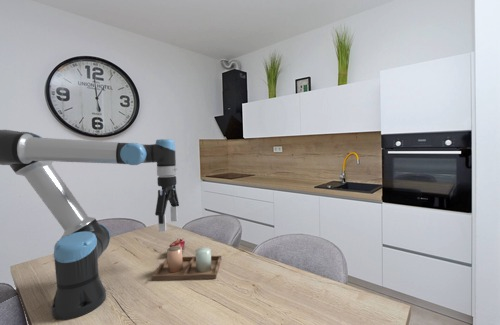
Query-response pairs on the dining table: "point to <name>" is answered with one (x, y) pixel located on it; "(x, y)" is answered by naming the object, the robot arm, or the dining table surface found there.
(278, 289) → the dining table surface
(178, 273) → the wooden divided tray
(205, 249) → the pale green rounded cylinder
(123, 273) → the dining table surface
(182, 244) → the flower
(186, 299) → the dining table surface
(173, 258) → the pink cylinder
